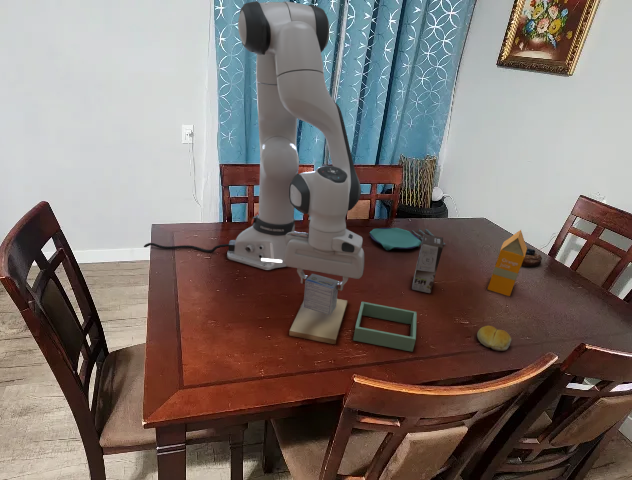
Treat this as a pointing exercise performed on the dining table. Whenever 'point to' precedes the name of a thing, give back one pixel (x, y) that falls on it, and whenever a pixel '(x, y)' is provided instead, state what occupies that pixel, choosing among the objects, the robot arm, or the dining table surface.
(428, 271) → the coffee box
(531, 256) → the pastry
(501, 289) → the orange juice
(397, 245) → the teal flat piece
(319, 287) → the medicine box
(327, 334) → the board
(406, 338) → the bin
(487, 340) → the bread roll
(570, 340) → the dining table surface
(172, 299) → the dining table surface
